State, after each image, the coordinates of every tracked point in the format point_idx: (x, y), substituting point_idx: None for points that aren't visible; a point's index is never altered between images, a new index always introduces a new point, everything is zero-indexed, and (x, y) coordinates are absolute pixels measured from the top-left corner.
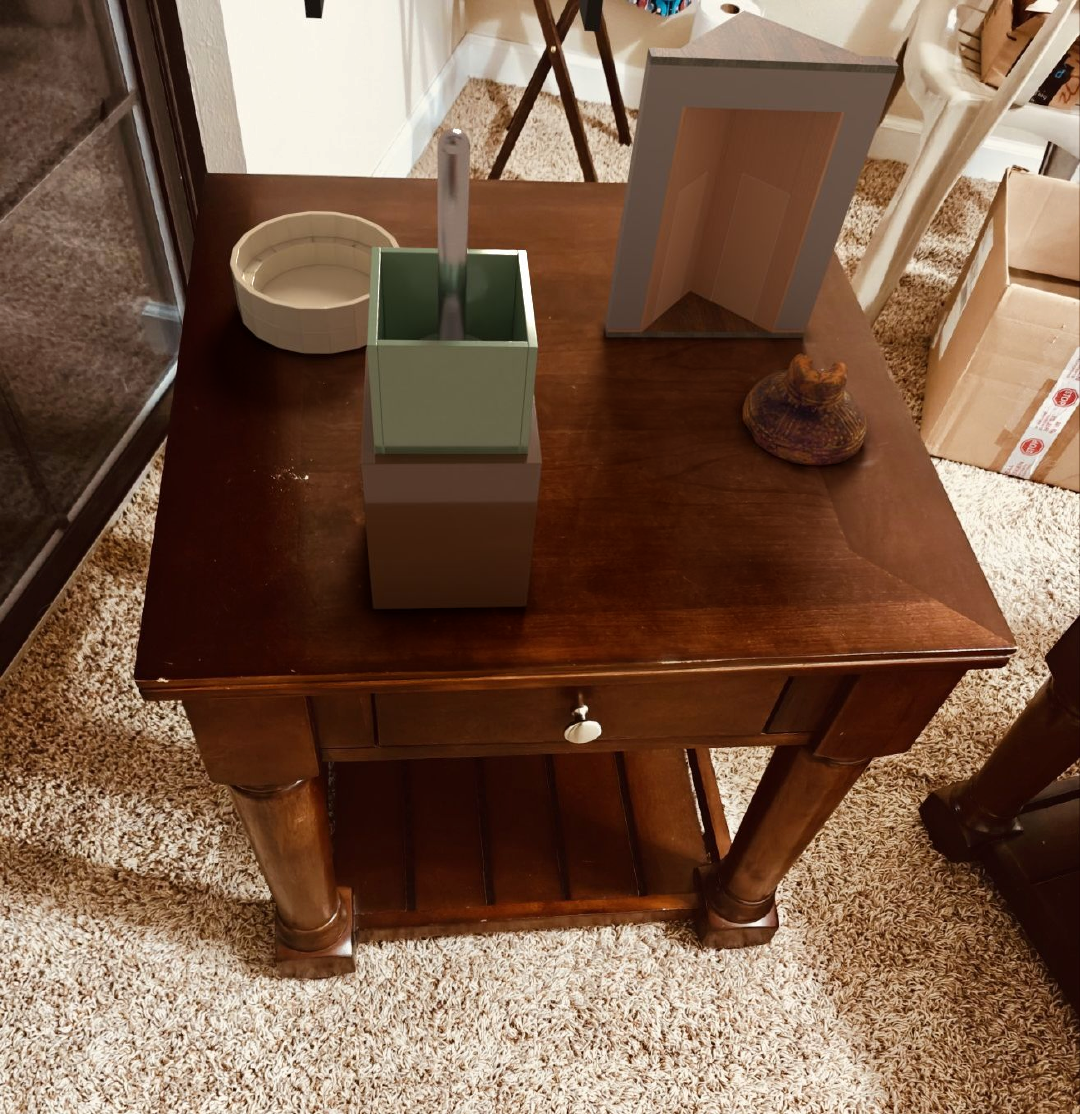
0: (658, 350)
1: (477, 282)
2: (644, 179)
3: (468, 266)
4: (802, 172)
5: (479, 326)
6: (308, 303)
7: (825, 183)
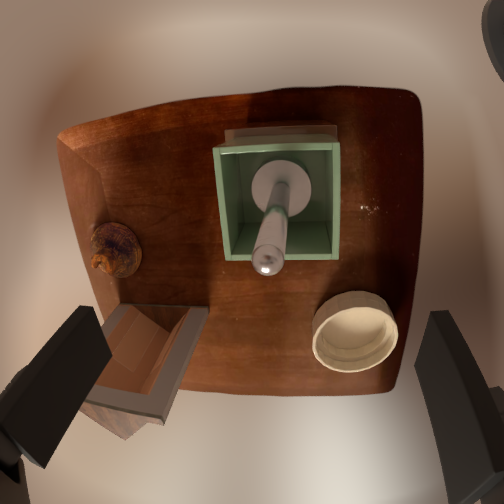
0: (182, 297)
1: None
2: (175, 366)
3: None
4: None
5: None
6: (359, 324)
7: None
